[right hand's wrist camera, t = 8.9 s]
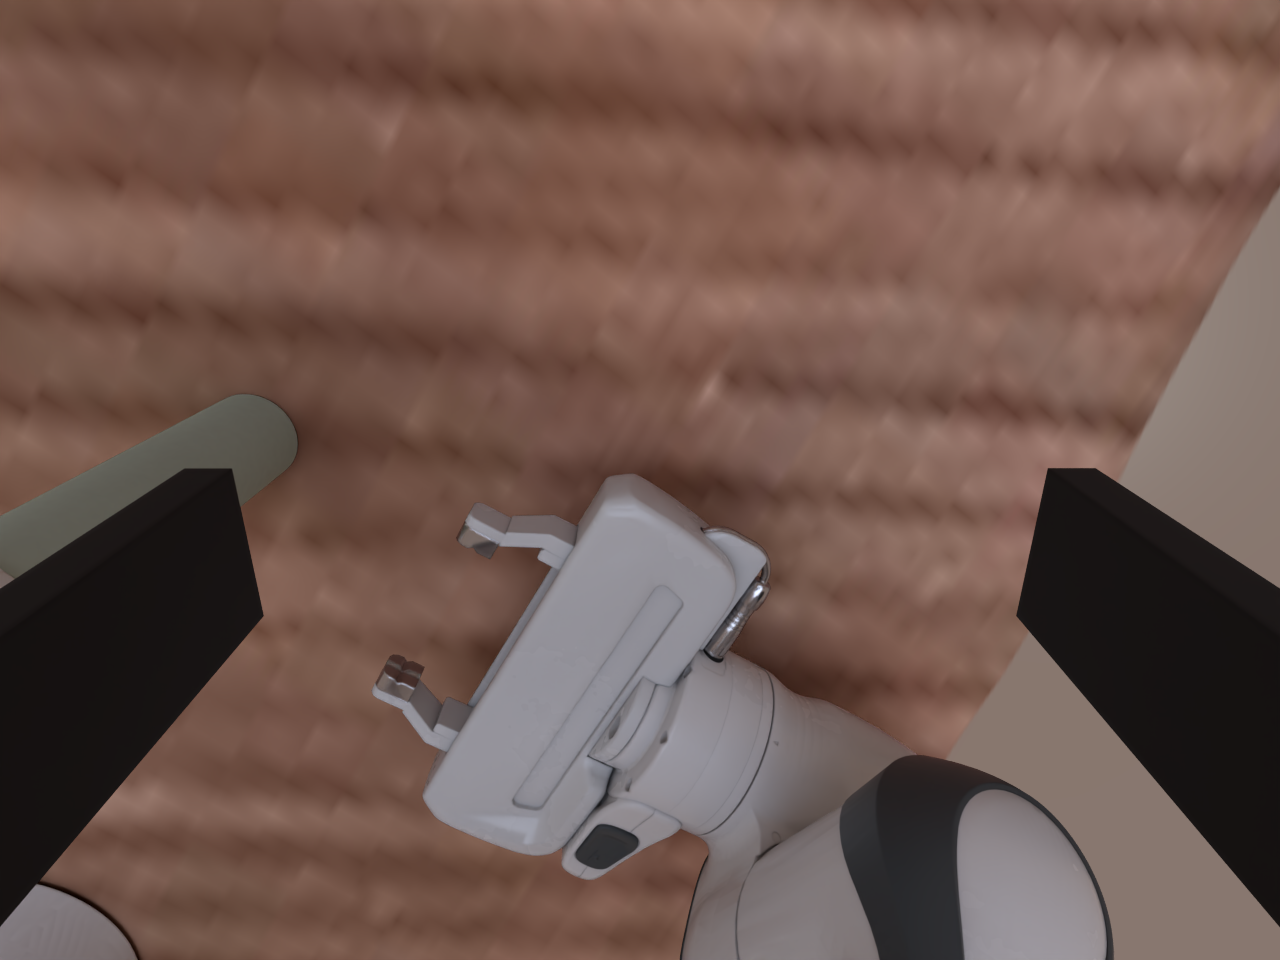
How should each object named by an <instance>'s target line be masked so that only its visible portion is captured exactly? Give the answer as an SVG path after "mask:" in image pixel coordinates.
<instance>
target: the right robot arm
mask: <svg viewBox="0 0 1280 960" xmlns="http://www.w3.org/2000/svg"><path fill="white" fill-rule="evenodd" d="M263 616H264V615H263V610H262V606H261V601H260V596H259V592H258V587H257V582H256V578H255V573H254V568H253V564H252V559H251V554H250V550H249V545H248V540H247V536H246V531H245V526H244V522H243V517H242V512H241V508H240V503H239V498H238V494H237V489H236V484H235V480H234V475H233V470H232V468H184V469H183V470H181V471H180V472H178V473H177V474H175V475H174V476H172V477H170V478H169V479H167V480H166V481H164V482H163V483H161V484H160V485H158V486H157V487H155V488H154V489H152V490H151V491H149V492H147V493H146V494H144V495H143V496H141V497H140V498H138V499H137V500H135V501H134V502H132V503H131V504H129V505H128V506H126V507H124V508H123V509H121V510H120V511H118V512H117V513H115V514H114V515H112V516H111V517H109V518H108V519H106V520H105V521H103V522H101V523H100V524H98V525H97V526H95V527H94V528H92V529H91V530H89V531H88V532H86V533H85V534H83V535H82V536H80V537H78V538H77V539H75V540H74V541H72V542H71V543H69V544H68V545H66V546H65V547H63V548H62V549H60V550H58V551H57V552H55V553H54V554H52V555H51V556H49V557H48V558H46V559H45V560H43V561H42V562H40V563H39V564H37V565H35V566H34V567H32V568H31V569H29V570H28V571H26V572H25V573H23V574H22V575H20V576H19V577H17V578H16V579H14V580H12V581H11V582H9V583H8V584H6V585H5V586H3V587H2V588H0V927H1V925H2V924H3V923H4V922H5V921H6V920H7V918H8V917H9V916H10V915H11V914H12V912H13V911H14V910H15V909H16V908H17V907H18V905H19V904H20V903H21V902H22V901H23V899H24V898H25V897H26V896H27V895H28V894H29V892H30V891H31V890H32V889H33V888H34V887H35V885H36V884H37V883H38V882H39V881H40V879H41V878H42V877H43V876H44V875H45V874H46V872H47V871H48V870H49V869H50V868H51V866H52V865H53V864H54V863H55V862H56V861H57V859H58V858H59V857H60V856H61V855H62V853H63V852H64V851H65V850H66V849H67V848H68V846H69V845H70V844H71V843H72V842H73V840H74V839H75V838H76V837H77V836H78V835H79V833H80V832H81V831H82V830H83V829H84V827H85V826H86V825H87V824H88V823H89V822H90V820H91V819H92V818H93V817H94V816H95V814H96V813H97V812H98V811H99V810H100V809H101V807H102V806H103V805H104V804H105V803H106V801H107V800H108V799H109V798H110V797H111V796H112V794H113V793H114V792H115V791H116V790H117V788H118V787H119V786H120V785H121V784H122V783H123V781H124V780H125V779H126V778H127V777H128V775H129V774H130V773H131V772H132V771H133V770H134V768H135V767H136V766H137V765H138V764H139V762H140V761H141V760H142V759H143V758H144V757H145V755H146V754H147V753H148V752H149V751H150V749H151V748H152V747H153V746H154V745H155V744H156V742H157V741H158V740H159V739H160V738H161V736H162V735H163V734H164V733H165V732H166V731H167V729H168V728H169V727H170V726H171V725H172V724H173V722H174V721H175V720H176V719H177V718H178V716H179V715H180V714H181V713H182V712H183V711H184V709H185V708H186V707H187V706H188V705H189V703H190V702H191V701H192V700H193V699H194V698H195V696H196V695H197V694H198V693H199V692H200V690H201V689H202V688H203V687H204V686H205V685H206V683H207V682H208V681H209V680H210V679H211V677H212V676H213V675H214V674H215V673H216V672H217V670H218V669H219V668H220V667H221V666H222V664H223V663H224V662H225V661H226V660H227V659H228V657H229V656H230V655H231V654H232V653H233V651H234V650H235V649H236V648H237V647H238V646H239V644H240V643H241V642H242V641H243V640H244V638H245V637H246V636H247V635H248V634H249V633H250V631H251V630H252V629H253V628H254V627H255V625H256V624H257V623H258V622H259V621H260V620H261V618H262V617H263ZM1016 616H1017V617H1018V618H1019V620H1020V621H1021V622H1022V623H1023V624H1024V625H1025V627H1026V628H1027V629H1028V630H1029V631H1030V633H1031V634H1032V635H1033V636H1034V637H1035V638H1036V640H1037V641H1038V642H1039V643H1040V644H1041V646H1042V647H1043V648H1044V649H1045V650H1046V651H1047V653H1048V654H1049V655H1050V656H1051V657H1052V659H1053V660H1054V661H1055V662H1056V663H1057V664H1058V665H1059V667H1060V668H1061V669H1062V670H1063V671H1064V673H1065V674H1066V675H1067V676H1068V677H1069V679H1070V680H1071V681H1072V682H1073V683H1074V684H1075V686H1076V687H1077V688H1078V689H1079V690H1080V692H1081V693H1082V694H1083V695H1084V696H1085V697H1086V699H1087V700H1088V701H1089V702H1090V703H1091V705H1092V706H1093V707H1094V708H1095V709H1096V711H1097V712H1098V713H1099V714H1100V715H1101V716H1102V718H1103V719H1104V720H1105V721H1106V722H1107V723H1108V725H1109V726H1110V727H1111V728H1112V729H1113V731H1114V732H1115V733H1116V734H1117V735H1118V736H1119V738H1120V739H1121V740H1122V741H1123V742H1124V744H1125V745H1126V746H1127V747H1128V748H1129V749H1130V751H1131V752H1132V753H1133V754H1134V755H1135V756H1136V758H1137V759H1138V760H1139V761H1140V762H1141V764H1142V765H1143V766H1144V767H1145V768H1146V769H1147V771H1148V772H1149V773H1150V774H1151V775H1152V777H1153V778H1154V779H1155V780H1156V781H1157V783H1158V784H1159V785H1160V786H1161V787H1162V788H1163V790H1164V791H1165V792H1166V793H1167V794H1168V796H1169V797H1170V798H1171V799H1172V800H1173V801H1174V803H1175V804H1176V805H1177V806H1178V807H1179V809H1180V810H1181V811H1182V812H1183V813H1184V814H1185V816H1186V817H1187V818H1188V819H1189V820H1190V821H1191V823H1192V824H1193V825H1194V826H1195V827H1196V829H1197V830H1198V831H1199V832H1200V833H1201V835H1202V836H1203V837H1204V838H1205V839H1206V840H1207V842H1208V843H1209V844H1210V845H1211V846H1212V848H1213V849H1214V850H1215V851H1216V852H1217V853H1218V855H1219V856H1220V857H1221V858H1222V859H1223V861H1224V862H1225V863H1226V864H1227V865H1228V866H1229V868H1230V869H1231V870H1232V871H1233V872H1234V873H1235V875H1236V876H1237V877H1238V878H1239V879H1240V881H1241V882H1242V883H1243V884H1244V885H1245V886H1246V888H1247V889H1248V890H1249V891H1250V892H1251V894H1252V895H1253V896H1254V897H1255V898H1256V899H1257V901H1258V902H1259V903H1260V904H1261V905H1262V907H1263V908H1264V909H1265V910H1266V911H1267V912H1268V914H1269V915H1270V916H1271V917H1272V918H1273V920H1274V921H1275V922H1276V923H1277V924H1278V925H1279V927H1280V588H1278V587H1277V586H1275V585H1274V584H1272V583H1271V582H1269V581H1268V580H1266V579H1264V578H1263V577H1261V576H1260V575H1258V574H1257V573H1255V572H1254V571H1252V570H1251V569H1249V568H1248V567H1246V566H1244V565H1243V564H1241V563H1240V562H1238V561H1237V560H1235V559H1234V558H1232V557H1231V556H1229V555H1228V554H1226V553H1225V552H1223V551H1222V550H1220V549H1218V548H1217V547H1215V546H1214V545H1212V544H1211V543H1209V542H1208V541H1206V540H1205V539H1203V538H1202V537H1200V536H1198V535H1197V534H1195V533H1194V532H1192V531H1191V530H1189V529H1188V528H1186V527H1185V526H1183V525H1182V524H1180V523H1179V522H1177V521H1175V520H1174V519H1172V518H1171V517H1169V516H1168V515H1166V514H1165V513H1163V512H1162V511H1160V510H1159V509H1157V508H1156V507H1154V506H1152V505H1151V504H1149V503H1148V502H1146V501H1145V500H1143V499H1142V498H1140V497H1139V496H1137V495H1136V494H1134V493H1133V492H1131V491H1129V490H1128V489H1126V488H1125V487H1123V486H1122V485H1120V484H1119V483H1117V482H1116V481H1114V480H1113V479H1111V478H1110V477H1108V476H1106V475H1105V474H1103V473H1102V472H1100V471H1099V470H1097V469H1096V468H1048V470H1047V475H1046V480H1045V484H1044V489H1043V494H1042V498H1041V503H1040V508H1039V512H1038V517H1037V522H1036V526H1035V531H1034V536H1033V540H1032V545H1031V550H1030V554H1029V559H1028V564H1027V568H1026V573H1025V578H1024V582H1023V587H1022V592H1021V596H1020V601H1019V606H1018V611H1017V615H1016Z"/></svg>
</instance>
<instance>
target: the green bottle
mask: <svg viewBox="0 0 1280 960" xmlns="http://www.w3.org/2000/svg"><path fill="white" fill-rule="evenodd" d="M297 447H298V441H297V434H296V431H295V428H294V426H293V424H292V422H291V420H290V419H289V417H288V416H287V415H286V413H285V412H284V411H283V410H282V409H281V408H279V407H278V406H277V405H276V404H274V403H273V402H271V401H269V400H267V399H265V398H262V397H260V396H256V395H250V394H239V395H234V396H230V397H228V398H225V399H224V400H222V401H220V402H218V403H216V404H214V405H212V406H210V407H208V408H206V409H204V410H202V411H201V412H199V413H197V414H195V415H193V416H191V417H189V418H187V419H185V420H183V421H181V422H180V423H178V424H176V425H174V426H172V427H170V428H168V429H166V430H164V431H162V432H160V433H158V434H157V435H155V436H153V437H151V438H149V439H147V440H145V441H143V442H141V443H139V444H137V445H136V446H134V447H132V448H130V449H128V450H126V451H124V452H122V453H120V454H118V455H116V456H114V457H113V458H111V459H109V460H107V461H105V462H103V463H101V464H99V465H97V466H95V467H93V468H91V469H90V470H88V471H86V472H84V473H82V474H80V475H78V476H76V477H74V478H72V479H70V480H69V481H67V482H65V483H63V484H61V485H59V486H57V487H55V488H53V489H51V490H49V491H47V492H46V493H44V494H42V495H40V496H38V497H36V498H34V499H32V500H30V501H28V502H26V503H25V504H23V505H21V506H19V507H17V508H15V509H13V510H11V511H9V512H7V513H5V514H3V515H2V516H0V569H2V570H3V571H4V572H6V573H7V574H9V575H10V576H12V577H13V578H14V579H16V578H17V577H19V576H20V575H22V574H23V573H25V572H26V571H28V570H29V569H31V568H32V567H34V566H35V565H37V564H39V563H40V562H42V561H43V560H45V559H46V558H48V557H49V556H51V555H52V554H54V553H55V552H57V551H58V550H60V549H62V548H63V547H65V546H66V545H68V544H69V543H71V542H72V541H74V540H75V539H77V538H78V537H80V536H82V535H83V534H85V533H86V532H88V531H89V530H91V529H92V528H94V527H95V526H97V525H98V524H100V523H101V522H103V521H105V520H106V519H108V518H109V517H111V516H112V515H114V514H115V513H117V512H118V511H120V510H121V509H123V508H124V507H126V506H128V505H129V504H131V503H132V502H134V501H135V500H137V499H138V498H140V497H141V496H143V495H144V494H146V493H147V492H149V491H151V490H152V489H154V488H155V487H157V486H158V485H160V484H161V483H163V482H164V481H166V480H167V479H169V478H170V477H172V476H174V475H175V474H177V473H178V472H180V471H181V470H183V469H184V468H232V470H233V475H234V480H235V484H236V489H237V494H238V498H239V503H240V507H241V506H242V505H243V504H245V503H246V502H247V501H248V500H250V499H251V498H252V497H253V496H254V495H256V494H257V493H258V492H259V491H261V490H262V489H263V488H264V487H266V486H267V485H268V484H269V483H270V482H272V481H273V480H274V479H275V478H277V477H278V476H279V475H280V474H282V473H283V472H284V471H285V470H286V469H288V468H289V466H290V465H291V464H292V462H293V461H294V459H295V456H296V453H297Z"/></svg>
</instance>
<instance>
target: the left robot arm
mask: <svg viewBox="0 0 1280 960" xmlns="http://www.w3.org/2000/svg"><path fill="white" fill-rule="evenodd" d="M456 538H457V541H458V542H459V543H460V544H461V545H463V546H464V547H466V548H474V549H475V551H476V552H477V553H478V554H480V555H482V556H484V557H486V558H488V559H490V558H491V557H492V555H493V553H494V552H495V550H496V549H497V547H498V545H499V546H506V547H532V548H540V550H539V553H538V559H539V560H540V561H542V562H544V563H546V564H548V565H549V566H551V568H550V570H549V572H548V573H547V575H546V577H545V578H544V580H543V581H542V583H541V585H540V586H539V588H538V590H537V591H536V593H535V595H534V596H533V598H532V599H531V601H530V603H529V604H528V606H527V608H526V609H525V611H524V612H523V614H522V616H521V617H520V619H519V621H518V622H517V624H516V625H515V627H514V629H513V630H512V632H511V634H510V635H509V637H508V639H507V640H506V642H505V643H504V645H503V647H502V648H501V650H500V652H499V653H498V655H497V656H496V658H495V660H494V661H493V663H492V665H491V666H490V668H489V669H488V671H487V673H486V674H485V676H484V678H483V679H482V681H481V683H480V684H479V686H478V687H477V689H476V691H475V692H474V694H473V696H472V697H471V699H470V700H469V702H468V704H467V705H466V704H464V703H461V702H459V701H457V700H455V699H452V698H450V697H447V698H446V699H445V701H444V702H443V705H442V704H441V703H440V702H439V701H438V699H437V698H436V697H435V696H434V695H433V694H432V693H431V692H430V690H429V689H428V688H427V687H426V686H425V685H424V684H423V682H422V681H421V680H420V679H419V678H420V676H421V674H422V672H423V670H424V666H422V665H420V664H418V663H415V662H413V661H409V662H407V660H406V659H405V657H402V656H400V655H392V656H390V657H389V659H388V661H387V662H386V664H385V666H384V668H383V669H382V671H381V673H380V675H379V677H378V679H377V681H376V682H375V684H374V686H373V688H372V694H373V695H374V696H375V697H376V698H378V699H380V700H382V701H384V702H386V703H389V704H391V705H393V706H395V707H397V708H399V709H402V710H403V714H404V715H405V716H406V718H407V719H408V720H409V722H410V723H411V724H412V726H413V727H414V729H415V730H416V731H417V733H418V734H419V735H420V737H421V738H422V739H423V741H424V742H425V743H427V744H430V745H432V746H434V747H436V748H438V749H439V751H438V753H437V755H436V757H435V759H434V762H433V764H432V767H431V769H430V772H429V775H428V778H427V781H426V784H425V787H424V790H423V799H424V801H425V803H426V805H427V806H428V808H429V809H430V811H431V812H432V814H433V815H434V816H435V817H436V818H437V819H438V820H440V821H442V822H443V823H445V824H447V825H449V826H451V827H453V828H456V829H458V830H460V831H462V832H464V833H467V834H469V835H471V836H474V837H476V838H479V839H481V840H484V841H486V842H489V843H491V844H494V845H497V846H500V847H502V848H505V849H508V850H511V851H514V852H517V853H521V854H526V855H533V856H541V855H547V854H551V853H554V852H556V851H558V850H559V849H561V848H562V867H563V868H564V870H566V871H567V872H568V873H570V874H572V875H574V876H576V877H579V878H581V879H585V880H593V879H596V878H599V877H601V876H602V875H604V874H606V873H607V872H609V871H610V870H612V869H613V868H614V867H616V866H617V865H619V864H620V863H622V862H623V861H625V860H627V859H628V858H630V857H631V856H633V855H635V854H636V853H638V852H640V851H641V850H643V849H645V848H647V847H649V846H650V845H652V844H654V843H656V842H659V841H661V840H663V839H665V838H668V837H670V836H671V835H673V834H675V833H676V832H677V831H678V830H679V829H682V830H685V831H687V832H689V833H691V834H693V835H695V836H697V837H699V838H701V839H702V840H704V841H705V842H706V844H707V845H708V849H709V854H708V856H707V858H706V859H705V861H704V864H703V866H702V868H701V871H700V874H699V877H698V880H697V883H696V887H695V890H694V894H693V898H692V902H691V906H690V910H689V915H688V919H687V923H686V928H685V933H684V938H683V943H682V948H681V954H680V960H1114V948H1113V938H1112V930H1111V924H1110V919H1109V915H1108V911H1107V907H1106V904H1105V901H1104V898H1103V895H1102V892H1101V890H1100V887H1099V885H1098V883H1097V880H1096V878H1095V876H1094V874H1093V872H1092V870H1091V868H1090V866H1089V864H1088V862H1087V860H1086V859H1085V857H1084V855H1083V853H1082V852H1081V850H1080V849H1079V847H1078V845H1077V844H1076V843H1075V841H1074V840H1073V838H1072V837H1071V836H1070V834H1069V833H1068V832H1067V830H1066V829H1065V828H1064V827H1063V825H1062V824H1061V823H1060V822H1059V821H1058V820H1057V819H1056V818H1055V817H1054V816H1053V815H1052V814H1051V813H1050V812H1049V811H1048V810H1047V809H1046V808H1045V807H1044V806H1043V805H1041V804H1040V803H1039V802H1038V801H1036V800H1035V799H1034V798H1032V797H1031V796H1029V795H1028V794H1026V793H1025V792H1023V791H1021V790H1020V789H1018V788H1016V787H1015V786H1013V785H1011V784H1009V783H1007V782H1005V781H1003V780H1001V779H999V778H997V777H995V776H992V775H990V774H988V773H985V772H983V771H980V770H978V769H975V768H972V767H968V766H965V765H962V764H959V763H955V762H952V761H947V760H943V759H939V758H934V757H929V756H924V755H917V754H916V753H915V752H913V751H912V750H911V749H909V748H908V747H907V746H905V745H904V744H902V743H901V742H899V741H898V740H896V739H895V738H893V737H892V736H890V735H889V734H887V733H886V732H884V731H882V730H881V729H879V728H877V727H876V726H874V725H872V724H870V723H869V722H867V721H865V720H863V719H861V718H860V717H858V716H856V715H854V714H852V713H850V712H848V711H846V710H844V709H842V708H840V707H838V706H837V705H835V704H832V703H830V702H828V701H825V700H822V699H818V698H811V697H805V696H802V695H799V694H796V693H794V692H792V691H791V690H789V689H788V688H786V687H785V686H784V685H783V684H782V683H781V682H780V681H779V680H778V679H777V678H776V677H775V676H774V675H773V674H772V673H770V672H769V671H767V670H766V669H764V668H762V667H760V666H758V665H756V664H754V663H752V662H750V661H749V660H747V659H745V658H743V657H741V656H739V655H737V654H735V653H733V652H731V651H729V648H730V647H731V646H732V644H733V643H734V642H735V640H736V639H737V638H738V636H739V634H740V633H741V631H742V630H743V628H744V625H745V624H746V622H747V621H748V619H749V618H750V616H751V615H752V614H753V612H754V611H756V610H758V609H759V607H760V606H761V605H762V604H763V603H764V601H765V600H766V598H767V596H768V594H769V592H770V589H771V586H770V584H769V583H768V580H769V577H770V573H771V563H770V559H769V557H768V555H767V553H766V551H765V550H764V549H763V547H762V546H760V545H759V544H758V543H757V542H755V541H753V540H751V539H750V538H748V537H746V536H744V535H742V534H740V533H739V532H737V531H735V530H733V529H731V528H728V527H724V526H709V525H708V524H707V523H706V522H705V521H703V520H702V519H701V518H700V517H698V516H697V515H696V514H695V513H694V512H692V511H691V510H690V509H688V508H687V507H686V506H684V505H683V504H682V503H680V502H679V501H678V500H676V499H675V498H673V497H672V496H670V495H669V494H667V493H666V492H665V491H663V490H662V489H660V488H659V487H657V486H655V485H654V484H652V483H651V482H649V481H647V480H646V479H644V478H642V477H640V476H638V475H636V474H631V473H630V474H621V475H614V476H609V477H607V478H606V479H605V481H604V482H603V484H602V485H601V487H600V489H599V490H598V492H597V493H596V495H595V497H594V498H593V500H592V502H591V503H590V505H589V506H588V508H587V510H586V511H585V513H584V515H583V516H582V518H581V520H580V521H579V523H578V524H577V526H576V525H574V524H572V523H570V522H568V521H566V520H564V519H562V518H560V517H558V516H556V515H527V516H512V518H510V517H509V516H507V515H505V514H503V513H501V512H499V511H497V510H495V509H493V508H491V507H489V506H487V505H485V504H482V503H475V504H474V505H473V507H472V509H471V511H470V512H469V514H468V516H467V518H466V520H465V522H464V524H463V525H462V527H461V529H460V531H459V533H458V535H457V537H456ZM761 569H762V573H761V576H760V577H759V576H757V575H758V573H759V572H760V570H761ZM0 960H137V957H136V955H135V953H134V950H133V948H132V947H131V945H130V943H129V942H128V940H127V939H126V937H125V936H124V935H123V933H122V932H121V931H120V930H119V929H118V928H117V927H116V926H115V925H114V924H113V923H112V922H111V921H110V920H109V919H108V918H106V917H105V916H104V915H103V914H101V913H100V912H99V911H97V910H96V909H94V908H93V907H91V906H90V905H88V904H86V903H84V902H83V901H81V900H79V899H77V898H75V897H73V896H71V895H68V894H66V893H64V892H61V891H58V890H56V889H53V888H50V887H46V886H43V885H39V884H36V885H35V887H34V888H33V889H32V890H31V891H30V892H29V894H28V895H27V896H26V897H25V898H24V899H23V901H22V902H21V903H20V904H19V905H18V907H17V908H16V909H15V910H14V911H13V912H12V914H11V915H10V916H9V917H8V918H7V920H6V921H5V922H4V923H3V924H2V925H1V927H0Z"/></svg>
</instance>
